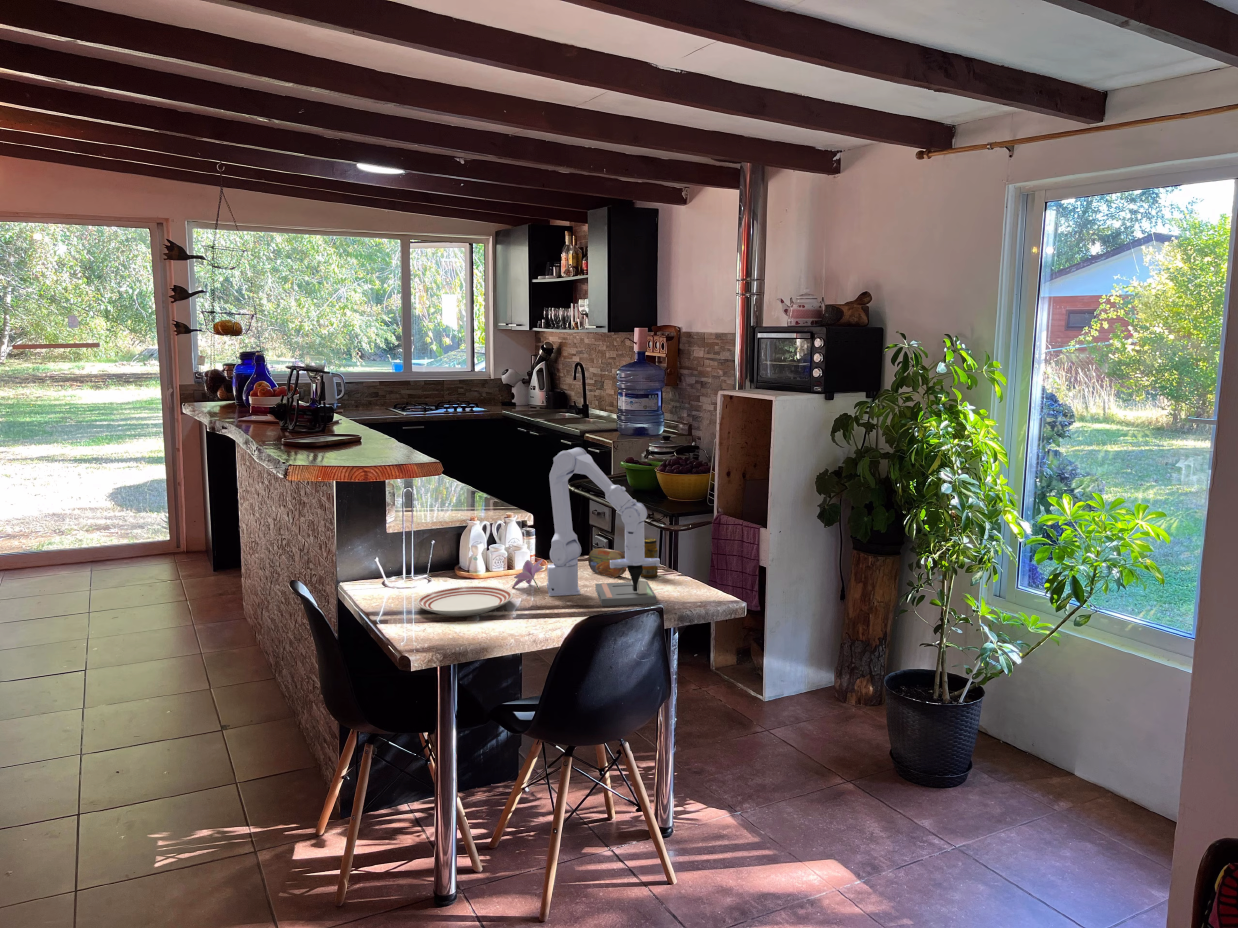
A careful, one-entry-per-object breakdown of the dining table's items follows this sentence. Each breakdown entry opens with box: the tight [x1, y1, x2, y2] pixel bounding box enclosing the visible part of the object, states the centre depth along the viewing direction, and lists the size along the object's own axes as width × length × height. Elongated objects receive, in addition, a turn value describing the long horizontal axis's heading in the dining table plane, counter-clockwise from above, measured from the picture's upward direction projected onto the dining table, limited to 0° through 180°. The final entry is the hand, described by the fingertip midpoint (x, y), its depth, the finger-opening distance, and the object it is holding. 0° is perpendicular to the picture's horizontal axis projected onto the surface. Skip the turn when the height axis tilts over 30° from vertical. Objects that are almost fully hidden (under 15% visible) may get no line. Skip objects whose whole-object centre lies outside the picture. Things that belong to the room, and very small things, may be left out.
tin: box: [587, 547, 628, 578], centre depth 301 cm, size 15×3×8 cm, turn 50°
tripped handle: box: [637, 578, 648, 594], centre depth 271 cm, size 2×3×4 cm
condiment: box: [641, 537, 668, 581], centre depth 298 cm, size 7×8×12 cm
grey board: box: [594, 581, 657, 607], centre depth 276 cm, size 16×17×2 cm
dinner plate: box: [416, 585, 514, 617], centre depth 267 cm, size 27×27×3 cm
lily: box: [511, 558, 545, 591], centre depth 286 cm, size 12×12×10 cm
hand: (635, 590), depth 271 cm, fingers closed
